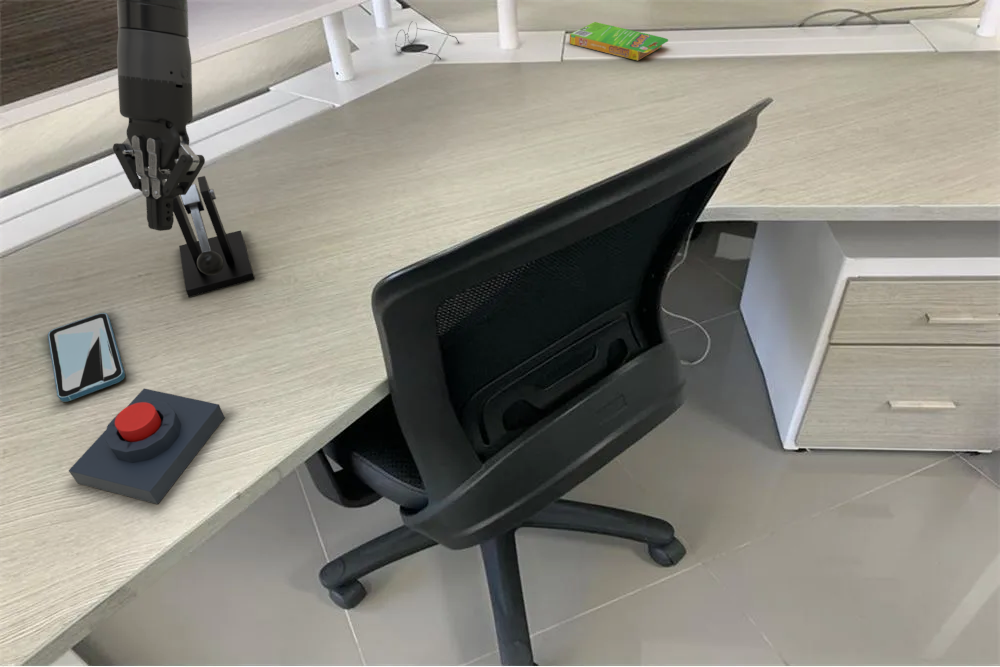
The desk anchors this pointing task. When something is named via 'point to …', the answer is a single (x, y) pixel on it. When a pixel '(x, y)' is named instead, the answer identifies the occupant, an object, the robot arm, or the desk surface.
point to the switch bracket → (224, 244)
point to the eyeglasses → (415, 38)
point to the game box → (616, 40)
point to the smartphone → (85, 357)
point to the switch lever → (201, 233)
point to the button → (138, 422)
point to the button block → (149, 449)
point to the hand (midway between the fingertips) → (160, 229)
